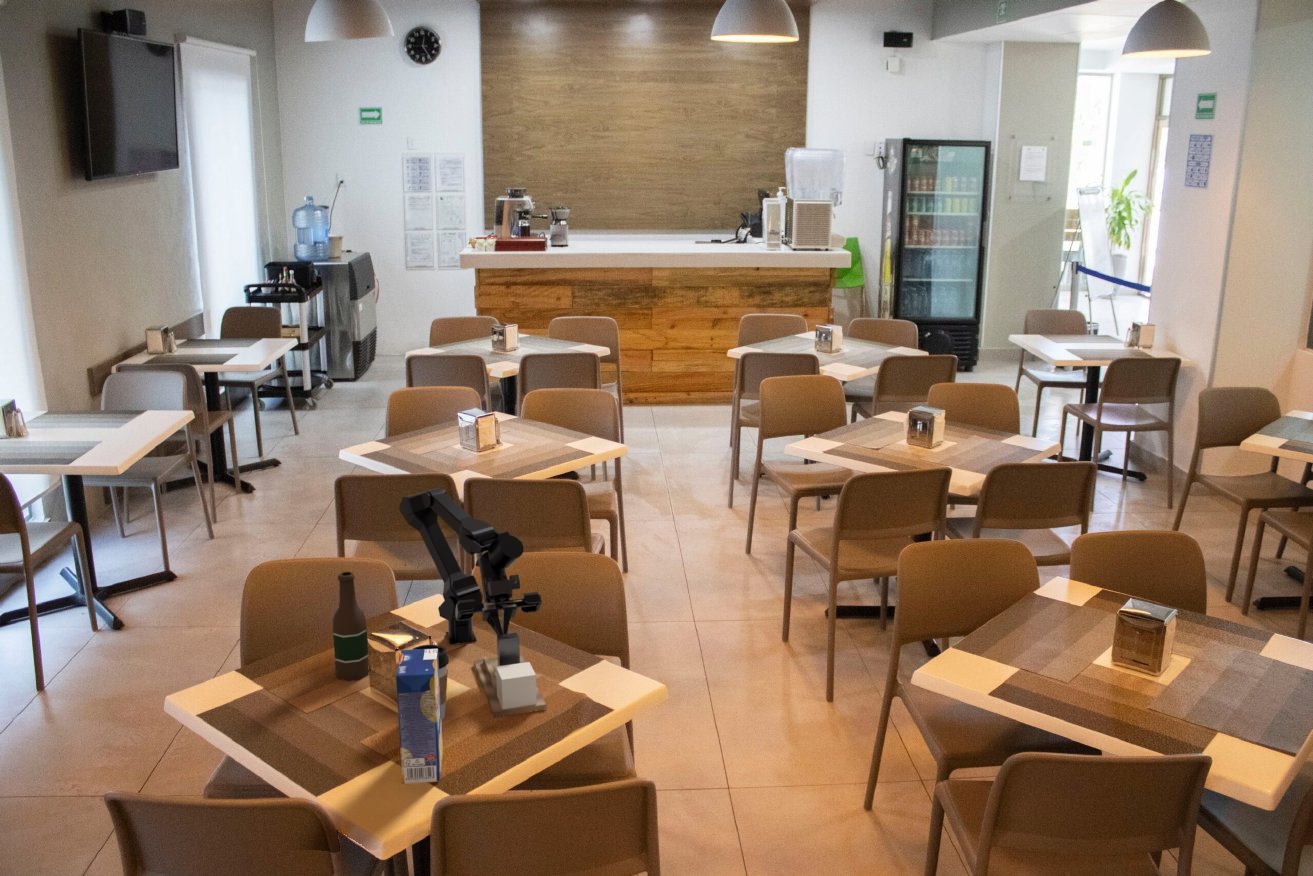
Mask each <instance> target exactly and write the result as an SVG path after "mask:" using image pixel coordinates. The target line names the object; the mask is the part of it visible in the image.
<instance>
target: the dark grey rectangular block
mask: <svg viewBox="0 0 1313 876" xmlns="http://www.w3.org/2000/svg"><path fill="white" fill-rule="evenodd" d="M496 648H497V651H496V652H497V658H498V666H504V665H511V664H518V663H520V654H521V653H520V652H521V651H520V636H519V634H518V632H512V633H511V632H510V633H507V634H503V635H497V634H496Z"/></svg>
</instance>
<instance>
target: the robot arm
mask: <svg viewBox="0 0 1313 876" xmlns="http://www.w3.org/2000/svg"><path fill="white" fill-rule="evenodd" d="M398 506H399V512H400V514H401V515H402V516H403V518H404V520H405V521H406V523H407V524H408V526H411V527H412V528H413V529H415V530H416V531H418V532H419V534H420V536H421V538H422V540H423V543H424V544H425V547H426V548H427V551H428V553H429V554H430V556H431V559H432V562H434V565H435V567H436V569H437V572H438V573H439V576H440V577H441V579H442V581H443V590H442V597H443V599H444V601H442V603H440V605H439V606H438V607H437V609H438V615H439V617H441V618H442V619H445V620H446V621H447V623H448V625H447V626H448V631H446V632H445V636H446V639H447V641H448V644H449V645H457V644H465V643H475V642H477V637H476V635H475V633H474V630H473V616H474V614H477V613H481V615H482V618H481V620H482V622H486V623H487V624H488V625H489V626H490V627H491V628H492V630H493V631H494V632H495V635H496V636H497V635H503V634H508V632H509V625H510V621H511V619H514V618H515V617H516V613H517V610H518V609H520V611H521V612H523V613H524V614H528V613H529V614H530V613H537V612H539V611H540V608H541V606H542V603H543V601H542V595H541V594H540V593H539V592H538V591H533V592H525V593H522V594H521V598H518V599H511V598H513V591H514V590H520V589H521V579H520V576H519V574H513V575H512V574H511V575H509V579H508V576H507V569H508V568H509V567H510V566H512V565H513V564H514V563H515V562H516V561H518V559H519V558H520V557H522V556H523V553H524V550H525V547H524V544H523V542H522V540H520V539H519V538H518V537H516V536H514V535H511V534H510V533H509V531H508V530H507V531H502V532H499V531H497V530H496V529H495V528H494V527H493V526H492V525H491V524H489V523H488V522H486V521H484V520H481V519H477V518H474V517H472V516H471V515H470V514H468V512H467V511H465V509H463V508H462V506H460V505H459V504H458V503H457V502H456V501H454V499H452V498H451V496H450V495H448V491H446V489H445V488H440V487H438V488H434V489H429V490H426V491H423V492H422V491H421V492H418V493H414V494H409V495H405V496H403V497H402V498H401V502H400V503H399V505H398ZM439 518H441V519H442V520H443V522H444V523H445V524H447V525H448V526H449V527H450V528H451V529H452V530H453V531H454V532H455V533H456V534H457V536H458V543H459V544H460V546H461V547H462V549H463V550H464V551H465V552H466V553H467V554H468V555H470V556H472V555H476V554H480V553H483V552H484V553H483V554H480V555H479V557H478V558H477V559H476V561H475V564H474V565H475V567H479V572H480V580H481V584H482V585H481V586H482V588H481V587H480V586H479V584H478V583H477V579H476V577H475V576H474V575H473V574H470V575H466V574H465V573H464V572H463V571H462V568H461V567H460V565H459V562H458V561H457V559H456V556H455V555H454V552H453V550H452V549H451V546H450V544H449V542H448V540H447V538H446V536H445V534H444V532H443V530H442V528H441V526H440V523H439V522H438V519H439ZM481 589H482V590H481ZM482 591H483V592H482ZM483 600H484V602H483ZM499 611H502V615H501V620H500V616H499V615H500V614H499Z"/></svg>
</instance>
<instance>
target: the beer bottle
mask: <svg viewBox="0 0 1313 876" xmlns="http://www.w3.org/2000/svg"><path fill="white" fill-rule="evenodd" d="M354 580H355V574H354V572H353V571H342V572H340V573H339V574H338V575H337V581H339V604H338V608H337V609H336V611H335V612H334V615H333V619H332V636H333V637H332V638H333V650H334V651H333V652H334V662H335V663H334V664H335V674H336V678H337V679H339V680H342V681H347V682H350V681H357V680H361V679H363V678H365V677H367V676H368V675H369V674H370V668H369V669H368V656H369V645H368V644H369V641H368V629H367V620H366V616H365V613H364V612H363V610H362V608H360V606H359V605H358V602H357V598H356V589H355V581H354ZM368 673H369V674H368Z"/></svg>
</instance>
